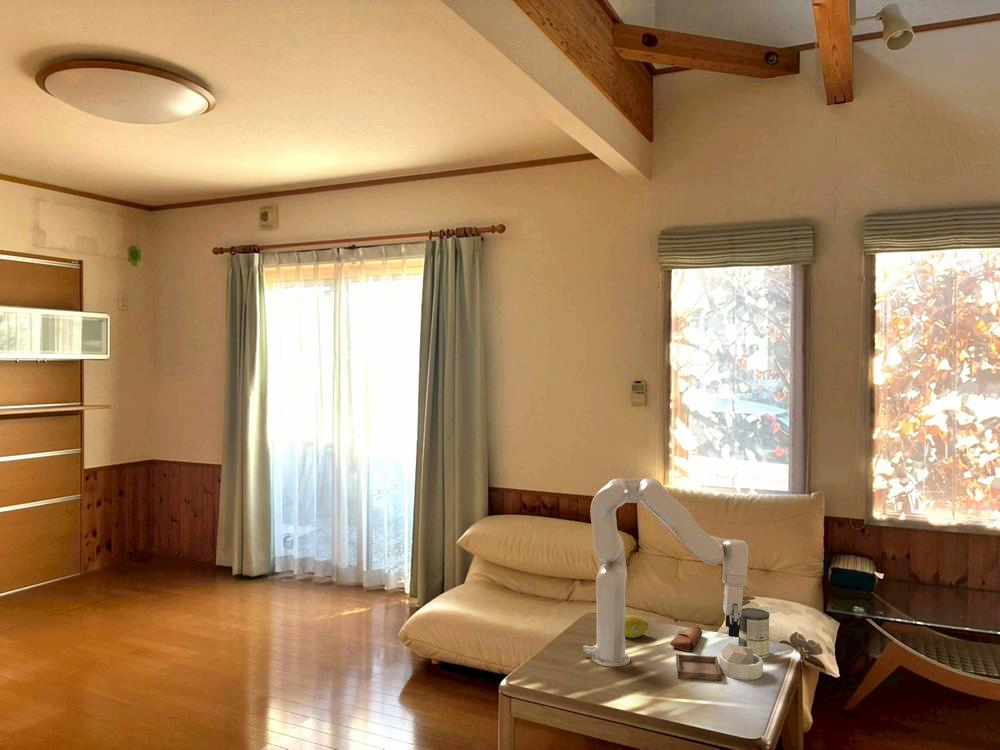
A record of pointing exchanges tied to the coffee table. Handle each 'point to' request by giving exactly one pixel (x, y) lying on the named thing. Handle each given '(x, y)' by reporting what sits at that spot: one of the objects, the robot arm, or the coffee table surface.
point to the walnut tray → (698, 667)
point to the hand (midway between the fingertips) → (732, 631)
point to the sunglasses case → (687, 639)
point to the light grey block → (748, 656)
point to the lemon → (635, 626)
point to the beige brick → (734, 653)
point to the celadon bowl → (741, 668)
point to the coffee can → (755, 631)
